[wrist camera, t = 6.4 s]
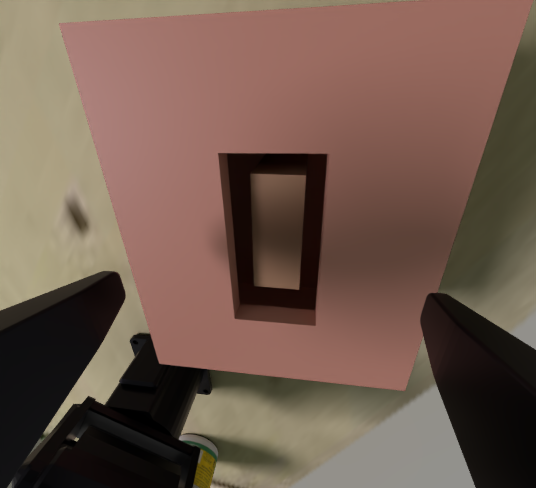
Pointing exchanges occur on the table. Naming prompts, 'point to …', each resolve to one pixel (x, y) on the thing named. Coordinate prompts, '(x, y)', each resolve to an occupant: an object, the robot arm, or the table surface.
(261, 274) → the block
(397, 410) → the table surface
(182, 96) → the coin box
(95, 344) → the robot arm
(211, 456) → the supplement bottle
